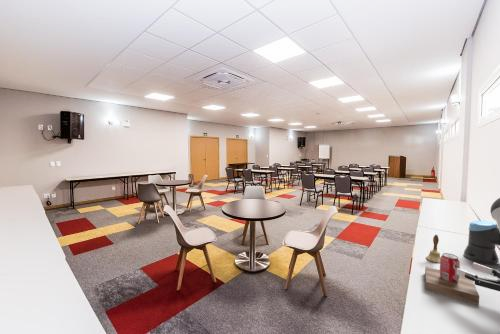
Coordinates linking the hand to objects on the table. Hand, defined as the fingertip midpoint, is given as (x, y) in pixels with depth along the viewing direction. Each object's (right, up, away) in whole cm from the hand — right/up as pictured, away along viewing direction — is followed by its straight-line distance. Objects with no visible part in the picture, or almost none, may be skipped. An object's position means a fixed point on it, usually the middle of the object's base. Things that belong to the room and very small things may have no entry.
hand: (465, 268), depth 103 cm
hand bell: (+14, -11, +34) cm, 39 cm away
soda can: (-2, -9, +6) cm, 11 cm away
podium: (-2, -12, +6) cm, 14 cm away
